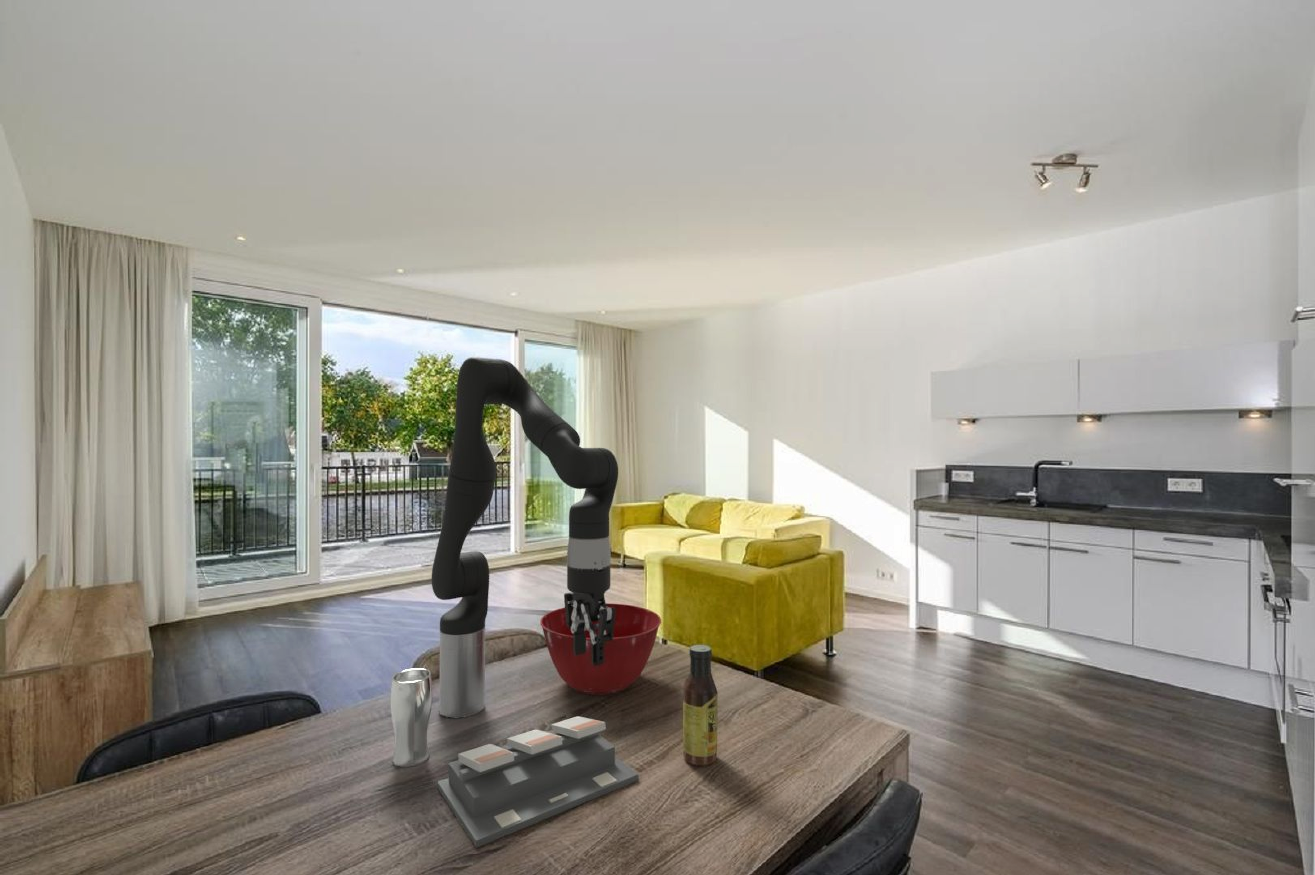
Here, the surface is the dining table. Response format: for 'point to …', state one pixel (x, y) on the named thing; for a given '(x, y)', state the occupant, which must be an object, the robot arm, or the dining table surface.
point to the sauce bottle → (700, 709)
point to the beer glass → (411, 715)
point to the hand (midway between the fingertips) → (588, 658)
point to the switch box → (532, 786)
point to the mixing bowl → (620, 654)
